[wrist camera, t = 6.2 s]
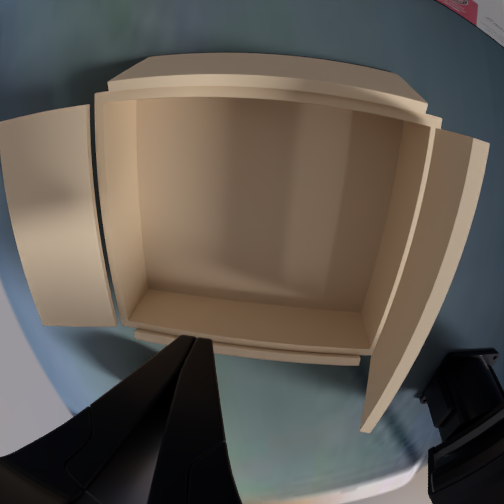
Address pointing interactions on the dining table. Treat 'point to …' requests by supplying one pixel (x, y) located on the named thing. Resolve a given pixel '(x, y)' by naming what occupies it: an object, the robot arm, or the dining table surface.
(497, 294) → the dining table surface
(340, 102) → the carton
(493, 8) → the ink box
